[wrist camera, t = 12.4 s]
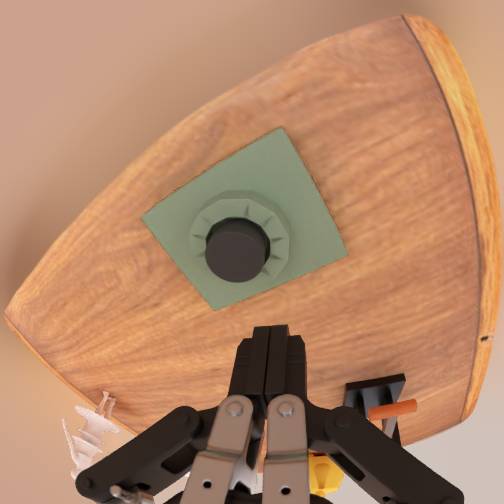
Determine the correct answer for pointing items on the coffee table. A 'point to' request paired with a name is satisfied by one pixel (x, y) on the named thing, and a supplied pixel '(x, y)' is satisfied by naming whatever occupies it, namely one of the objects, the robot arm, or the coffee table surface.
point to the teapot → (324, 475)
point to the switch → (391, 414)
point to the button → (236, 251)
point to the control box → (249, 218)
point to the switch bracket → (375, 396)
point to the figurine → (90, 435)
